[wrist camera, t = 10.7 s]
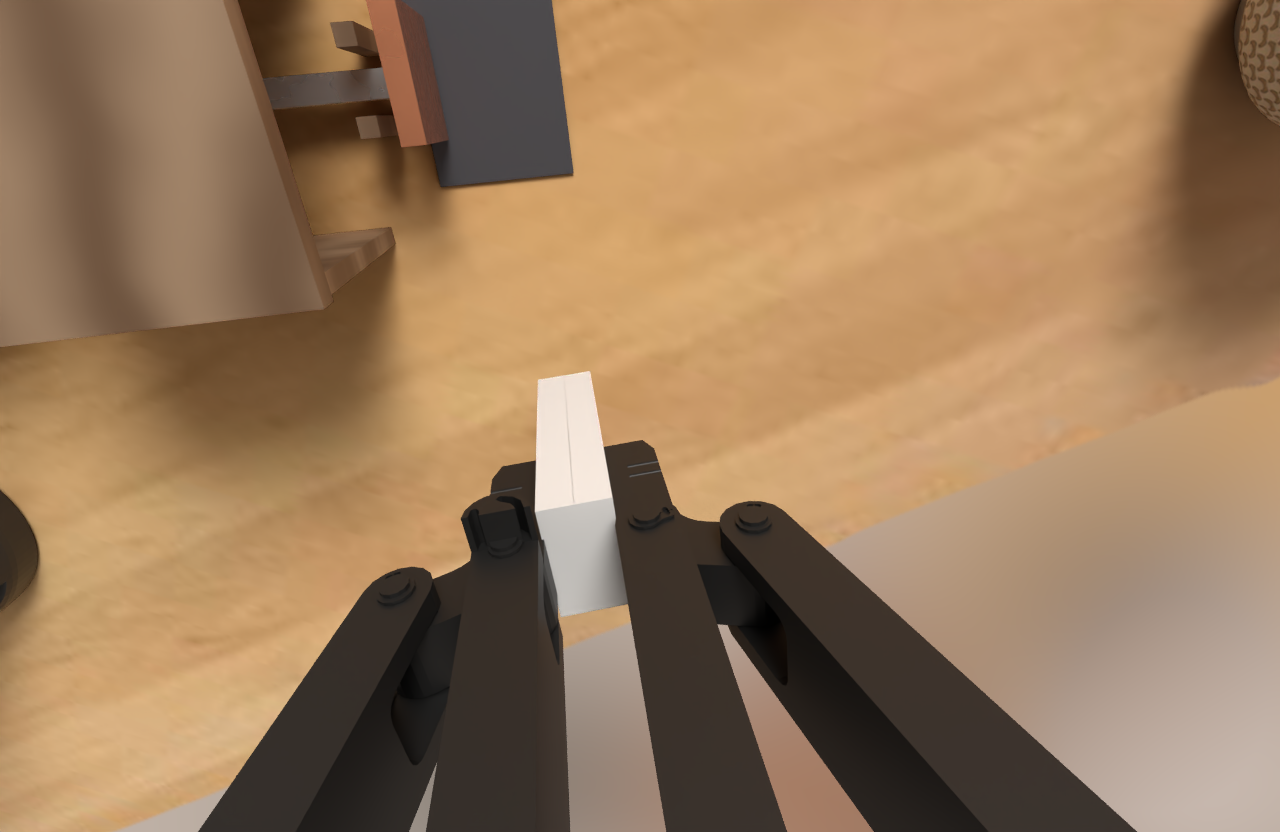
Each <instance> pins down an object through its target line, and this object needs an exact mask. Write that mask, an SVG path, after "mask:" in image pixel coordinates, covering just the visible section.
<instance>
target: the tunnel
mask: <svg viewBox="0 0 1280 832" xmlns="http://www.w3.org/2000/svg"><path fill="white" fill-rule="evenodd" d="M330 24H331V28H332V32H333V35H334V39H335V43H336V47H337V48H340V49H343V50H346V51H350V52H353V53H356V54H359V55H362V56H365V57H367V56H378V55H379V52H378V48H377V44H376V39H375V35H374V31H372V30H370V29H368V28H366V27H364V26H362V25H360V24H358V23H355V22H353V21H344V22H332V23H330ZM355 118H356V122H357V126H358V129H359V133H360V137H361V139H369V138H379V137H388V136H396V135H398V131H397V127H396V123H395V118H394V115H374V116H364V117H355ZM393 245H395V240H394V236H393V232H392V228H391V227H388V228H379V229H369V230H360V231H351V232H342V233H332V234H323V235H314V236H313V235H312V231H311V228H310V225H309V222H308V219H307V216H306V213H305V210H304V206H303V203H302V200H301V197H300V194H299V191H298V188H297V185H296V181H295V178H294V175H293V172H292V169H291V166H290V163H289V160H288V156H287V153H286V150H285V147H284V144H283V141H282V138H281V134H280V131H279V128H278V125H277V122H276V119H275V116H274V113H273V109H272V106H271V103H270V100H269V97H268V94H267V91H266V88H265V84H264V81H263V78H262V75H261V72H260V69H259V66H258V63H257V59H256V56H255V53H254V50H253V47H252V44H251V41H250V37H249V34H248V31H247V28H246V25H245V22H244V19H243V16H242V12H241V9H240V6H239V3H238V0H0V347H6V346H14V345H23V344H31V343H40V342H48V341H57V340H66V339H74V338H83V337H91V336H100V335H108V334H117V333H125V332H134V331H142V330H151V329H159V328H168V327H177V326H185V325H194V324H202V323H211V322H219V321H228V320H236V319H245V318H253V317H262V316H271V315H279V314H288V313H296V312H305V311H313V310H322V309H325V308H326V307H328V306H329V305H330V304H331V303H332V302H334V300H333V297H332V294H333V293H334V292H336V291H337V290H338V289H339V288H341V287H342V286H343V285H344V284H346V283H347V282H348V281H349V280H351V279H352V278H353V277H354V276H356V275H357V274H358V273H359V272H361V271H362V270H363V269H364V268H366V267H367V266H368V265H369V264H371V263H372V262H373V261H374V260H376V259H377V258H378V257H379V256H381V255H382V254H383V253H385V252H386V251H387V250H388V249H390V248H391V247H392V246H393Z"/></svg>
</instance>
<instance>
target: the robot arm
mask: <svg viewBox="0 0 1280 832" xmlns="http://www.w3.org/2000/svg"><path fill="white" fill-rule="evenodd" d="M461 521H462V524H463V527H464V530H465V533H466V537H467V540H468V543H469V546H470V549H471V552H472V553H471V559H470V561H469V562H468V563H466V564H465V565H463V566H462V567H460V568H458V569H456V570H454V571H452V572H450V573H447V574H445V575H442V576H440V577H437V578H435V579H432V576H431V573H430V572H428V571H427V570H425V569H423V568H417V567H407V568H401V569H397V570H395V571H392V572H390V573H387V574H385V575H383V576H382V577H380V578H379V579H377V580H375V581H374V582H372V584H371V585H370V586H369V587H368V588H367V589H366V590H365V591H364V592H363V594H362V595H361V596H360V598H359V599H358V601H357V602H356V604H355V605H354V607H353V608H352V609H351V611H350V612H349V614H348V615H347V617H346V618H345V620H344V621H343V623H342V624H341V625H340V627H339V628H338V630H337V631H336V633H335V634H334V636H333V637H332V638H331V640H330V641H329V643H328V644H327V646H326V647H325V649H324V650H323V652H322V653H321V654H320V656H319V657H318V659H317V660H316V662H315V663H314V665H313V666H312V667H311V669H310V670H309V672H308V673H307V675H306V676H305V678H304V679H303V681H302V682H301V683H300V685H299V686H298V688H297V689H296V691H295V692H294V694H293V695H292V696H291V698H290V699H289V701H288V702H287V704H286V705H285V707H284V708H283V710H282V711H281V712H280V714H279V715H278V717H277V718H276V720H275V721H274V723H273V724H272V725H271V727H270V728H269V730H268V731H267V733H266V734H265V736H264V737H263V739H262V740H261V741H260V743H259V744H258V746H257V747H256V749H255V750H254V752H253V753H252V754H251V756H250V757H249V759H248V760H247V762H246V763H245V765H244V766H243V768H242V769H241V770H240V772H239V773H238V775H237V776H236V778H235V779H234V781H233V782H232V783H231V785H230V786H229V788H228V789H227V791H226V792H225V794H224V795H223V797H222V798H221V799H220V801H219V803H218V804H217V806H216V807H215V808H214V810H213V811H212V812H211V814H210V815H209V817H208V818H207V820H206V821H205V823H204V824H203V826H202V827H201V828H200V830H199V831H198V832H409V830H410V827H411V825H412V823H413V820H414V817H415V815H416V813H417V810H418V808H419V805H420V802H421V800H422V798H423V795H424V793H425V790H426V788H427V785H428V783H429V780H430V778H431V775H432V773H433V771H434V768H435V765H436V763H437V768H436V773H435V780H434V786H433V792H432V798H431V804H430V810H429V816H428V823H427V828H426V832H570V817H569V816H570V815H569V789H568V763H567V739H566V738H567V737H566V712H565V686H564V661H563V636H562V632H561V628H560V624H559V620H558V607H559V611H560V615H561V617H564V616H570V615H575V614H580V613H585V612H590V611H595V610H600V609H605V608H610V607H615V606H620V605H625V604H628V606H629V612H630V618H631V624H632V629H633V636H634V641H635V648H636V653H637V659H638V665H639V671H640V677H641V683H642V689H643V695H644V701H645V707H646V712H647V719H648V725H649V731H650V736H651V742H652V749H653V754H654V761H655V766H656V773H657V779H658V784H659V790H660V796H661V802H662V808H663V814H664V820H665V825H666V832H787V830H786V827H785V824H784V821H783V818H782V815H781V812H780V809H779V806H778V803H777V800H776V797H775V794H774V791H773V789H772V786H771V783H770V780H769V777H768V774H767V771H766V768H765V765H764V762H763V759H762V756H761V753H760V750H759V747H758V744H757V741H756V738H755V735H754V732H753V729H752V726H751V723H750V720H749V717H748V714H747V711H746V708H745V705H744V703H743V699H742V696H741V693H740V691H739V688H738V685H737V682H736V679H735V676H734V673H733V670H732V667H731V664H730V661H729V658H728V655H727V652H726V649H725V646H724V643H723V640H722V637H721V634H720V631H719V628H718V625H717V624H723V625H728V627H729V629H730V632H731V634H732V635H733V637H734V638H735V639H736V641H737V642H738V644H739V645H740V646H741V648H742V649H743V651H744V652H745V653H746V655H747V656H748V658H749V659H750V660H751V662H752V663H753V664H754V666H755V667H756V669H757V670H758V671H759V673H760V674H761V676H762V677H763V678H764V680H765V681H766V683H767V684H768V685H769V687H770V688H771V689H772V691H773V692H774V693H775V695H776V696H777V698H778V699H779V701H780V702H781V703H782V705H783V706H784V707H785V709H786V710H787V712H788V713H789V714H790V716H791V717H792V719H793V720H794V721H795V723H796V724H797V725H798V727H799V728H800V730H801V731H802V733H803V734H804V735H805V737H806V738H807V739H808V741H809V742H810V743H811V745H812V746H813V748H814V749H815V751H816V752H817V753H818V755H819V756H820V758H821V759H822V760H823V762H824V763H825V764H826V766H827V767H828V769H829V770H830V771H831V773H832V774H833V775H834V777H835V778H836V780H837V781H838V783H839V784H840V785H841V787H842V788H843V789H844V791H845V792H846V793H847V795H848V796H849V798H850V799H851V800H852V802H853V803H854V805H855V806H856V808H857V809H858V810H859V812H860V813H861V814H862V816H863V817H864V819H865V820H866V821H867V823H868V824H869V826H870V827H871V828H872V830H873V831H874V832H1137V831H1136V830H1135V829H1133V828H1132V827H1131V826H1130V825H1129V824H1128V823H1127V822H1126V821H1125V820H1124V819H1122V818H1121V817H1120V816H1119V815H1118V814H1117V813H1116V812H1114V811H1113V810H1112V809H1111V808H1110V807H1109V806H1108V805H1107V804H1106V803H1105V802H1104V801H1103V800H1101V799H1100V798H1099V797H1098V796H1097V795H1096V794H1095V793H1094V792H1093V791H1091V790H1090V789H1089V788H1088V787H1087V786H1086V785H1085V784H1084V783H1083V782H1082V781H1081V780H1079V779H1078V778H1077V777H1076V776H1075V775H1074V774H1073V773H1072V772H1071V771H1070V770H1068V769H1067V768H1066V767H1065V766H1064V765H1063V764H1062V763H1061V762H1060V761H1059V760H1057V759H1056V758H1055V757H1054V756H1053V755H1052V754H1051V753H1050V752H1048V751H1047V750H1046V749H1045V748H1044V747H1043V746H1042V745H1041V744H1040V743H1039V742H1038V741H1037V740H1035V739H1034V738H1033V737H1032V736H1031V735H1030V734H1029V733H1028V732H1027V731H1026V730H1024V729H1023V728H1022V727H1021V726H1020V725H1019V724H1018V723H1017V722H1016V721H1015V720H1013V719H1012V718H1011V717H1010V716H1009V715H1008V714H1007V713H1006V712H1005V711H1003V710H1002V709H1001V708H1000V707H999V706H998V705H997V704H996V703H995V702H994V701H992V700H991V699H990V698H989V697H988V696H987V695H986V694H985V693H984V692H983V691H981V690H980V689H979V688H978V687H977V686H976V685H975V684H974V683H973V682H972V681H970V680H969V679H968V678H967V677H966V676H965V675H964V674H963V673H962V672H960V671H959V670H958V669H957V668H956V667H955V666H954V665H953V664H952V663H951V662H949V661H948V660H947V659H946V658H945V657H944V656H943V655H942V654H941V653H940V652H939V651H937V650H936V649H935V648H934V647H933V646H932V645H931V644H930V643H929V642H927V641H926V640H925V639H924V638H923V637H922V636H921V635H920V634H919V633H917V631H915V630H914V629H913V628H912V627H911V626H910V625H909V624H907V622H905V621H904V620H903V619H902V618H901V617H900V616H899V615H898V614H897V613H896V612H895V611H893V610H892V609H891V608H890V607H889V606H888V605H887V604H886V603H885V602H883V601H882V600H881V599H880V598H879V597H878V596H877V595H876V594H875V593H874V592H872V591H871V590H870V589H869V588H868V587H867V586H866V585H865V584H864V583H862V582H861V581H860V580H859V579H858V578H857V577H856V576H855V575H854V574H853V573H851V572H850V571H849V570H848V569H847V568H846V567H845V566H844V565H843V564H842V563H841V562H839V561H838V560H837V559H836V558H835V557H834V556H833V555H832V554H831V553H829V552H828V551H827V550H826V549H825V548H824V547H823V546H822V545H821V544H820V543H819V542H817V541H816V540H815V539H814V538H813V537H812V536H811V535H810V534H809V533H808V532H806V531H805V530H804V529H803V528H802V527H801V526H800V525H799V524H798V523H797V522H795V521H794V520H793V519H792V518H791V517H790V516H789V515H788V514H787V513H786V512H784V511H783V510H782V509H780V508H778V507H777V506H775V505H773V504H769V503H766V502H761V501H748V502H743V503H738V504H735V505H733V506H732V507H730V508H728V509H726V510H725V512H724V513H723V514H722V515H721V517H720V522H706V521H697V520H693V519H689V518H687V517H685V516H683V515H681V514H680V513H679V511H678V510H677V509H676V507H675V506H673V505H672V502H671V499H670V496H669V493H668V490H667V487H666V484H665V481H664V478H663V475H662V472H661V469H660V466H659V463H658V459H657V456H656V453H655V450H654V448H652V447H651V446H650V445H648V444H647V443H646V442H644V441H643V440H640V441H635V442H629V443H623V444H618V445H612V446H607V447H603V442H602V436H601V431H600V425H599V419H598V414H597V408H596V403H595V397H594V391H593V386H592V380H591V375H590V371H588V372H582V373H576V374H570V375H564V376H558V377H552V378H546V379H541V380H538V405H537V445H536V461H531V462H525V463H520V464H514V465H508V466H503V467H502V468H501V469H500V470H499V471H498V473H497V474H496V475H495V476H494V478H493V479H492V485H491V494H490V496H486V497H484V498H482V499H480V500H478V501H476V502H474V503H473V504H472V505H471V506H469V507H468V508H467V509H466V510H465V511H464V513H463V515H462V517H461ZM36 567H37V547H36V543H35V539H34V536H33V534H32V531H31V529H30V527H29V525H28V523H27V522H26V520H25V518H24V517H23V516H22V514H21V513H20V511H19V510H18V509H17V508H16V506H15V505H14V504H13V503H12V502H11V501H10V500H9V499H8V498H7V497H6V496H5V495H4V494H3V493H2V492H1V491H0V612H1V611H2V610H3V609H5V608H6V607H7V606H8V605H9V604H10V603H11V602H12V601H14V600H15V599H16V598H17V597H18V596H19V595H20V594H21V593H22V592H23V591H24V590H25V589H26V588H27V587H28V585H29V584H30V582H31V581H32V579H33V577H34V574H35V571H36Z"/></svg>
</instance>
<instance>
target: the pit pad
mask: <svg viewBox="0 0 1280 832" xmlns="http://www.w3.org/2000/svg"><path fill="white" fill-rule="evenodd" d="M401 1H403V2H404V3H405V4H407V5H408V6H409V7H411V8H412V9H413V10H415V11H416V12H417V13H419V14H420V15H421V16H423V18H424V23H425V27H426V32H427V37H428V42H429V47H430V51H431V56H432V61H433V66H434V71H435V76H436V80H437V85H438V90H439V95H440V100H441V104H442V109H443V114H444V119H445V124H446V129H447V133H448V138H449V140H446V141H442V142H437V143H433V144H431V145H432V149H433V154H434V159H435V163H436V168H437V172H438V177H439V181H440V186H441V187H446V186H455V185H465V184H474V183H484V182H494V181H503V180H513V179H522V178H532V177H542V176H551V175H561V174H570V173H573V165H572V158H571V150H570V142H569V134H568V126H567V118H566V110H565V102H564V94H563V86H562V79H561V71H560V63H559V55H558V47H557V39H556V31H555V23H554V15H553V8H552V0H401Z"/></svg>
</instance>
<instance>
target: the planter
mask: <svg viewBox="0 0 1280 832" xmlns="http://www.w3.org/2000/svg"><path fill="white" fill-rule="evenodd" d="M1234 45H1235V50H1236V54H1237V57H1238V59H1239V66H1240V71H1241V75H1242V80H1243V84H1244V86H1245V88H1246V90H1247V93H1248V95H1249V97H1250V99H1251V100H1252V102H1253V103H1254V104H1255V106H1256V107H1257V108H1258V109H1259V111H1260V112H1261V113H1262V114H1263V115H1264V116H1266V117H1267V118H1268V119H1269V120H1271V121H1272V122H1274V123H1275V124H1277V125H1278V126H1280V0H1241V2H1240V5H1239V8H1238V11H1237V15H1236V20H1235V27H1234Z"/></svg>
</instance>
